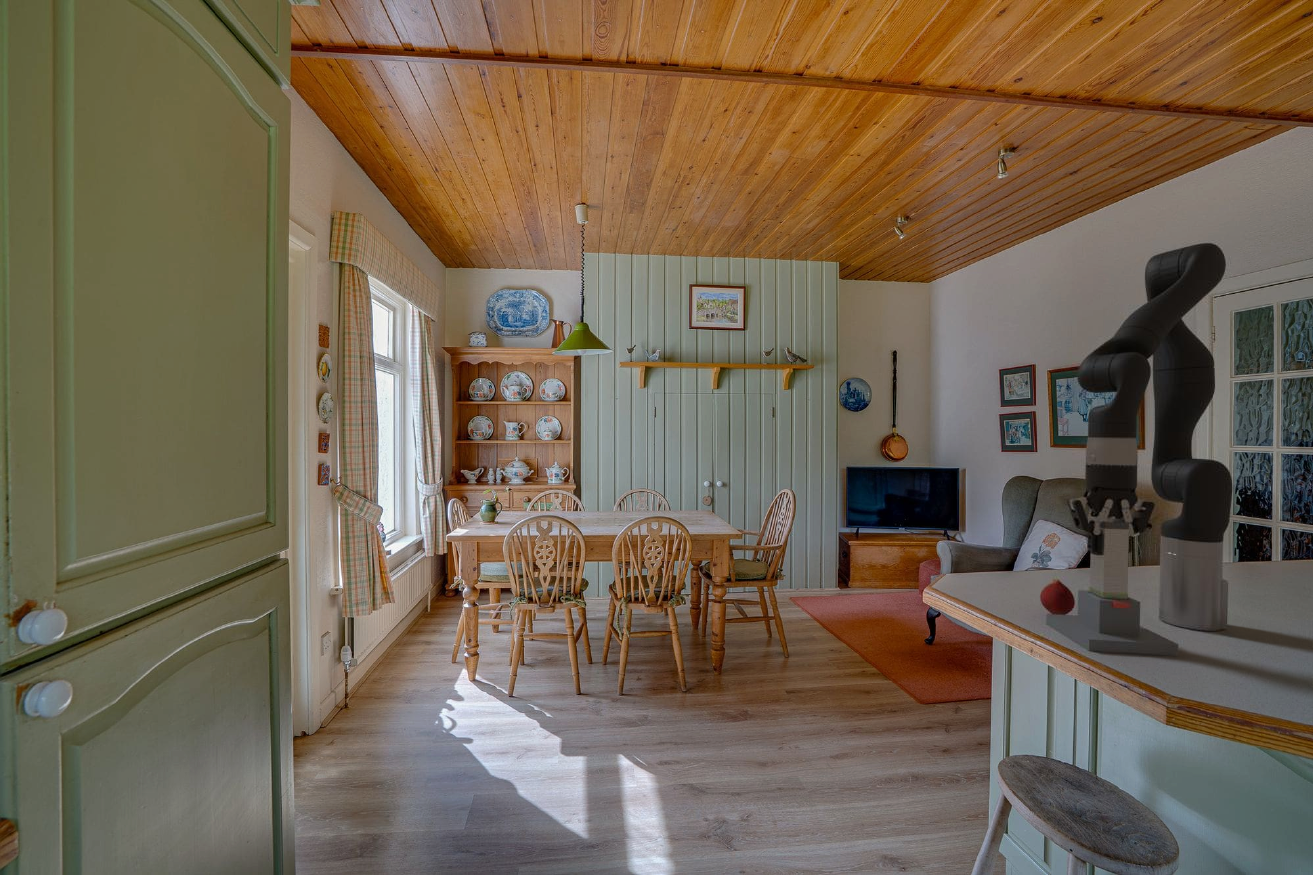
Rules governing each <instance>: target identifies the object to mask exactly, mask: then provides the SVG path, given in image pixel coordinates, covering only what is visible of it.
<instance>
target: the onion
mask: <svg viewBox="0 0 1313 875" xmlns="http://www.w3.org/2000/svg"><path fill="white" fill-rule="evenodd" d="M1052 581H1053V582H1051V583H1049V584H1047V585H1046V586H1044V588H1043V589H1042V590H1041V592H1040V596H1039V598H1040V602H1041V604H1042V606H1043V608H1044V609H1045V610H1046V611H1048V612H1049V614H1057V615H1069V613H1070V612H1073V610H1074V607H1075V605H1076V604H1075V603H1076V601H1075V597H1074V594H1073V593H1072V591H1071V589H1069V587H1067V585H1065V584H1063V582H1062V581H1060V579H1058V578H1053V579H1052Z"/></svg>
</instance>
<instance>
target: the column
mask: <svg viewBox="0 0 1313 875" xmlns="http://www.w3.org/2000/svg"><path fill="white" fill-rule="evenodd" d="M1099 535H1101V555H1094V554H1091V553H1090V565H1089V567H1090V569H1089V574H1090V575H1089V589H1088V591H1090V593H1091V594H1093V595H1095V596H1097V597H1100V598H1102V599H1117V600H1127V598H1128V597H1129V592H1128V590H1129V589H1128V587H1129V584H1128V583H1129V582H1128V581H1129V555H1128V549H1129V523H1125V522H1121V521H1117V520H1113V518H1111V519H1110V518H1109V519H1108V518H1107V520H1106V522H1103V523H1102V530H1101V533H1100V534H1099Z"/></svg>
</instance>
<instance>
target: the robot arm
mask: <svg viewBox="0 0 1313 875" xmlns="http://www.w3.org/2000/svg"><path fill="white" fill-rule="evenodd" d="M1226 261H1227V260H1226V258H1225V254H1224V251H1223V250H1222V249H1221V247H1220V246H1219V245H1217V244H1216V243H1212V242H1202V243H1197V244H1192V245H1188V246H1184V247H1180V248H1176V249H1173V250H1169V251H1165V252H1161V253H1158V254H1155V255H1153V256H1151V257H1150V259H1148V261H1147V263H1146V265H1145V269H1144V270H1145V271H1144V285H1145V286H1144V287H1145V294H1146V301H1147V302H1146V303H1144V304H1142V305H1141V306H1140V307H1138V308H1137V309H1135V311H1133V312H1132V313H1131V314H1130V315H1129V316H1128V317H1127V318H1126V319H1125V320H1124V321H1123V322H1122V324H1121V325H1120V327H1119V328H1118V330H1117V331H1116V332H1115V333H1114V335H1113V336H1112V337H1111V338H1110V339H1108V340H1107V341H1104V343H1102V344H1101V345H1099V346H1098V347H1097V348H1095V349H1094V350H1093V351H1091V353H1089V354H1088V355H1087V356H1086V357H1085V358H1084V359H1083V361H1082V362H1081V364H1080V365H1079V367H1078V370H1077V374H1076V377H1077V382H1078V383H1077V384H1078V385H1079V386H1080V387H1081V389H1082V390H1084V391H1086V392H1087V393H1093V394H1103V393H1104V394H1105V393H1115V395H1114V397H1113V399H1112V400H1111V401H1110V402H1109V403H1106V404H1101V405H1098V406H1095V407H1092V408H1091V409H1090V410H1089V412H1088V419H1087V426H1088V427H1087V443H1086V447H1085V470H1084V472H1085V473H1084V476H1085V477H1084V483H1085V491H1084V493H1083V496H1081V497H1077V498H1068V499H1067V501H1066V502H1067V506H1068V509H1069V512H1070V515H1071V518H1072V521H1073V523H1074V526H1075V527H1074V528H1076V529H1077V530H1081V531H1083V532H1085V533H1086V534H1087V539H1086V541H1087V542H1086V543H1087V546H1086V548H1087V550H1088V551H1089V552H1090V555H1091V554H1094V555H1101V535H1099V534H1100V533H1101V530H1102V523H1103V522H1106V520H1107V519H1108V518H1112V519H1113V520H1117V521H1121V522H1125V523H1129V549H1128V556H1129V555H1130V553H1132V551H1133V548H1132V547H1133V536H1134V535H1136V534H1139V533H1140V534H1143V533H1144V532H1145V531H1146V529H1147V525H1148V524H1149V521H1150V518H1151V516H1152V513H1153V512H1154V508H1155V507H1156V504H1155V503H1154V502H1153V501H1149V500H1148V501H1147V500H1143V499H1140V498H1139V496H1138V494H1137V493H1136V489H1137V487H1138V458H1139V456H1138V455H1139V454H1138V453H1139V452H1138V443H1137V427H1138V426H1137V425H1138V424H1137V420H1138V418H1137V417H1138V413H1139V410H1140V406H1141V404H1142V400H1143V399H1144V395H1145V393H1146V390H1147V388H1148V385H1149V382H1150V379H1151V375H1152V382H1153V383H1152V384H1153V385H1152V386H1153V388H1152V389H1153V398H1154V399H1153V402H1154V403H1153V404H1154V437H1153V449H1152V459H1151V460H1152V461H1151V468H1150V469H1151V471H1150V472H1151V474H1150V478H1151V485H1152V488H1153V490H1154V492H1155V494H1157V496H1158V497H1159V498H1161V499H1163V500H1164V501H1168V502H1172V503H1180V504H1182V507H1181V508H1182V509H1181V513H1180V514H1179V515H1178V516H1176V517H1175V518H1173V519H1172V518H1171V519H1168V520H1164V521H1163V522H1162V523H1161V524H1160V544H1159V545H1160V547H1159V548H1160V552H1159V553H1160V555H1159V556H1160V557H1159V591H1158V592H1159V596H1158V597H1159V598H1158V619H1159V620H1160V621H1162V622H1164V623H1166V624H1170V625H1173V626H1176V627H1180V628H1185V629H1191V630H1197V631H1206V632H1207V631H1208V632H1209V631H1210V632H1212V631H1213V632H1214V631H1221V630H1228V612H1229V611H1228V605H1229V582H1228V581H1227V579H1224V578H1223V575H1224V574H1223V573H1224V570H1223V569H1224V566H1223V565H1224V538H1225V537H1224V535H1225V533H1226V531H1227V529H1228V527H1229V524H1230V519H1231V509H1232V508H1231V507H1232V506H1231V505H1232V498H1233V478H1232V474H1231V472H1230V470H1229V469H1228V467H1227V466H1226V465H1225V464H1223V463H1222V462H1220V461H1218V460H1215V459H1211V458H1210V459H1209V458H1208V459H1207V458H1195V457H1194V458H1193V451H1192V450H1193V449H1192V446H1193V445H1192V444H1193V443H1192V442H1193V435H1194V432H1195V428H1196V426H1197V424H1198V423H1199V421H1200V419H1201V417H1202V416H1203V415H1204V413H1205V412H1206V410H1207V409H1208V407H1209V405H1210V404H1211V402H1212V399H1213V397H1214V394H1215V391H1216V369H1215V358H1214V356H1213V354H1212V352H1211V351H1210V349H1209V348H1208V347H1207V346H1206V345H1205V344H1204V343H1203V342H1202V341H1201V340H1200V338H1198V337H1197V335H1195V333H1193V331H1192V330H1191V329H1189V327H1188V326H1187V324H1186V323H1185V322H1184V320H1183V317H1185V315H1186V314H1188V313H1189V312H1190V311H1191V310H1192V309H1193V308H1195V307H1196V305H1198V303H1200V302H1201V301H1202V300H1203V299H1204V298H1205V297H1206V296H1207V295H1208V294H1210V293H1211V292H1212V291H1213V290H1214V289H1215V288H1216V287H1217V286H1218V284H1220V282H1221V280H1222V279H1223V277H1224V275H1225V272H1226V268H1227V265H1226ZM1151 357H1152V368H1151V363H1150V362H1149V360H1148V359H1150V358H1151ZM1086 505H1087V506H1088V508H1089V513H1088V514H1087V515H1086V511H1085V509H1086V508H1087V506H1086ZM1133 508H1134V509H1135V510H1134V512H1133V514H1131V510H1132V509H1133Z"/></svg>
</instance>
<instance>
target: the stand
mask: <svg viewBox="0 0 1313 875" xmlns="http://www.w3.org/2000/svg"><path fill="white" fill-rule="evenodd" d="M1077 593H1078V594H1077V615H1073V614H1066V615H1057V614H1051V613H1046V615H1045V619H1046V620H1045V622H1046V623H1045V624H1046V625H1047V626H1049V627H1050V628H1052V629H1054V630H1055V631H1057V632H1059V633H1060V634H1062V635H1063V636H1064V637H1066V638H1068V639H1069V640H1071V641H1072V642H1075V643H1076V644H1078V645H1079V646H1080V647H1082V648H1084V649H1085V650H1086V651H1088V652H1103V653H1105V652H1106V653H1124V654H1135V655H1136V654H1138V655H1141V654H1142V655H1153V656H1155V655H1157V656H1173V657H1174V656H1175V657H1179V644H1178V643H1177V642H1174V641H1172V640H1170V639H1169V638H1166V637H1164V636H1162V635H1160V634H1158V633H1156V632H1153V631H1151V630H1150V629H1147V627H1143V626H1141V601H1139V600H1136V599H1134V598H1132V597H1130V596H1128V598H1127V600H1117V599H1102V598H1100V597H1097V596H1095V595H1093V594H1091V593H1090V591H1089V589H1088V590H1086V589H1085V590H1084V589H1078V590H1077Z"/></svg>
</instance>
